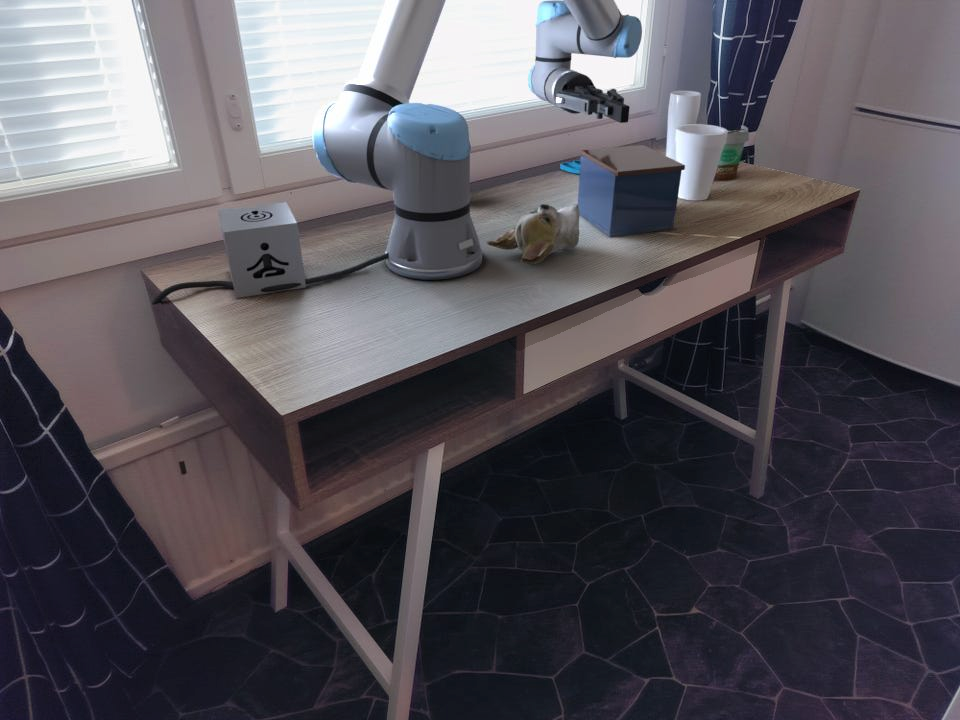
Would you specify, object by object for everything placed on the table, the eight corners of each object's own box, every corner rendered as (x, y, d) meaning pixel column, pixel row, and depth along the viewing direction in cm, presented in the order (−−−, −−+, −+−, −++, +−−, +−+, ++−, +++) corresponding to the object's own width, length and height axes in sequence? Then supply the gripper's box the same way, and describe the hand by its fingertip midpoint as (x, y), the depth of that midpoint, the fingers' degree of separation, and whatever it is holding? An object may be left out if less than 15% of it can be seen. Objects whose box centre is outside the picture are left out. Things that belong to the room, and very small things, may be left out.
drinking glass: (689, 157, 169) (698, 90, 161) (693, 165, 163) (704, 96, 155) (660, 156, 169) (668, 90, 162) (663, 164, 163) (672, 95, 156)
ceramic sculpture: (599, 202, 112) (522, 226, 105) (598, 253, 116) (524, 279, 110) (557, 186, 119) (482, 207, 113) (557, 235, 124) (485, 258, 117)
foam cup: (721, 203, 139) (733, 135, 133) (673, 203, 139) (683, 135, 133) (709, 188, 147) (719, 124, 141) (664, 188, 148) (672, 123, 141)
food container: (706, 184, 150) (714, 136, 145) (689, 176, 155) (696, 129, 150) (754, 178, 154) (763, 130, 149) (735, 171, 159) (744, 124, 153)
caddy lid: (684, 169, 121) (685, 165, 120) (617, 176, 117) (618, 171, 117) (642, 149, 133) (643, 144, 132) (580, 154, 129) (581, 150, 129)
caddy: (673, 229, 127) (682, 168, 121) (609, 237, 124) (615, 175, 118) (636, 205, 138) (642, 149, 133) (576, 212, 135) (580, 155, 129)
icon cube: (229, 272, 111) (217, 210, 106) (294, 263, 114) (286, 202, 109) (236, 298, 103) (223, 232, 98) (306, 287, 106) (297, 222, 101)
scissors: (580, 159, 163) (643, 181, 149) (580, 163, 164) (642, 185, 149) (557, 163, 160) (619, 186, 146) (557, 167, 161) (618, 191, 146)
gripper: (598, 108, 147) (655, 133, 128) (539, 112, 144) (589, 139, 125) (601, 69, 143) (660, 89, 124) (541, 72, 140) (592, 94, 121)
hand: (624, 114), depth 124 cm, fingers closed
